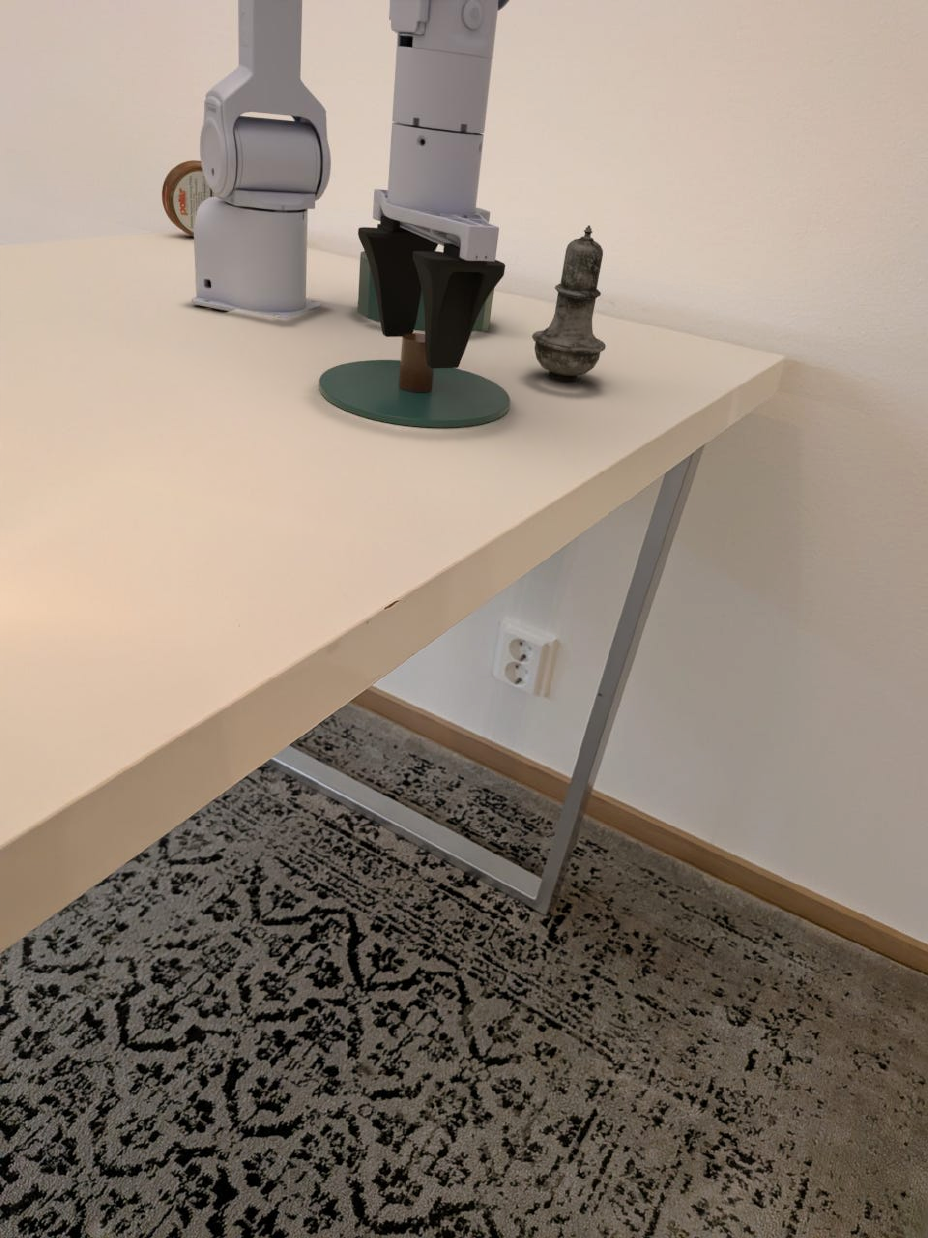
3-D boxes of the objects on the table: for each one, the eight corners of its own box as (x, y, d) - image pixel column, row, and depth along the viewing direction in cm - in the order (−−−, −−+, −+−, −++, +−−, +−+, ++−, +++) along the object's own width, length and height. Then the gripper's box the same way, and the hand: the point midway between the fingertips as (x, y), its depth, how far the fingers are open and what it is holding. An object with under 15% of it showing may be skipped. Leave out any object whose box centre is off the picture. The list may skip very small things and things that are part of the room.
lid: (284, 408, 59) (284, 339, 57) (364, 363, 70) (367, 303, 68) (476, 451, 56) (485, 380, 54) (527, 397, 68) (537, 336, 65)
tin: (281, 238, 115) (282, 165, 110) (290, 242, 112) (290, 169, 108) (163, 233, 108) (158, 156, 103) (169, 238, 105) (165, 160, 101)
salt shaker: (549, 397, 68) (578, 230, 62) (512, 374, 72) (535, 216, 66) (611, 394, 71) (644, 234, 64) (571, 372, 75) (599, 220, 69)
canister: (335, 320, 81) (338, 258, 78) (386, 298, 91) (390, 242, 89) (465, 346, 78) (472, 283, 75) (502, 320, 89) (510, 263, 86)
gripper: (554, 147, 51) (520, 380, 58) (444, 123, 61) (426, 323, 68) (446, 135, 48) (423, 383, 55) (349, 113, 58) (340, 323, 65)
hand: (419, 350), depth 61 cm, fingers open, 7 cm apart
